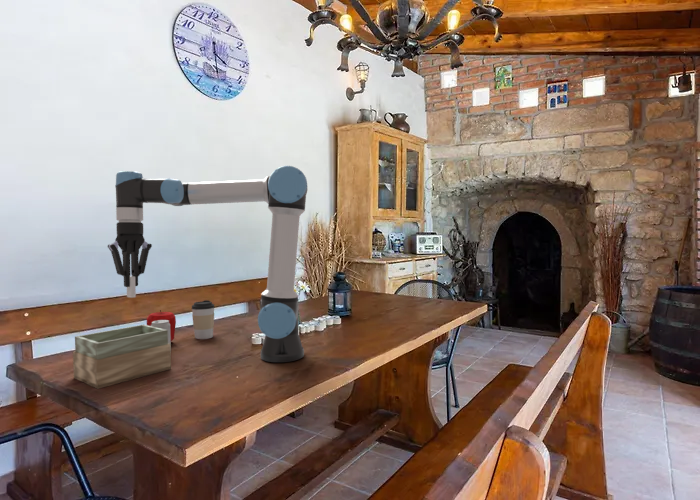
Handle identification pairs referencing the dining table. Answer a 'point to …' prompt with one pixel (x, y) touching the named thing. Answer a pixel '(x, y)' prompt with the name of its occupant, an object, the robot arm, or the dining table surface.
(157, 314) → the red rounded piece
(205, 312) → the coffee cup
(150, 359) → the wooden planter box
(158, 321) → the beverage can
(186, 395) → the dining table surface
